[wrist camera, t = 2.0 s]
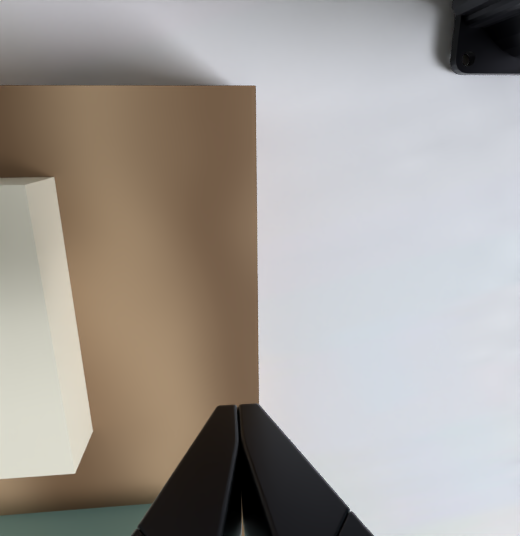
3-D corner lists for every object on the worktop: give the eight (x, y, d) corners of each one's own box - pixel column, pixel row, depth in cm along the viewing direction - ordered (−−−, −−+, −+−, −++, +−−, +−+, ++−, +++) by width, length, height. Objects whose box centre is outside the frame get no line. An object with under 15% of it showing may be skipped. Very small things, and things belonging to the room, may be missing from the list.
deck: (247, 96, 16) (255, 85, 12) (254, 537, 23) (260, 618, 19) (-152, 97, 15) (-278, 85, 11) (-21, 561, 22) (-72, 653, 18)
